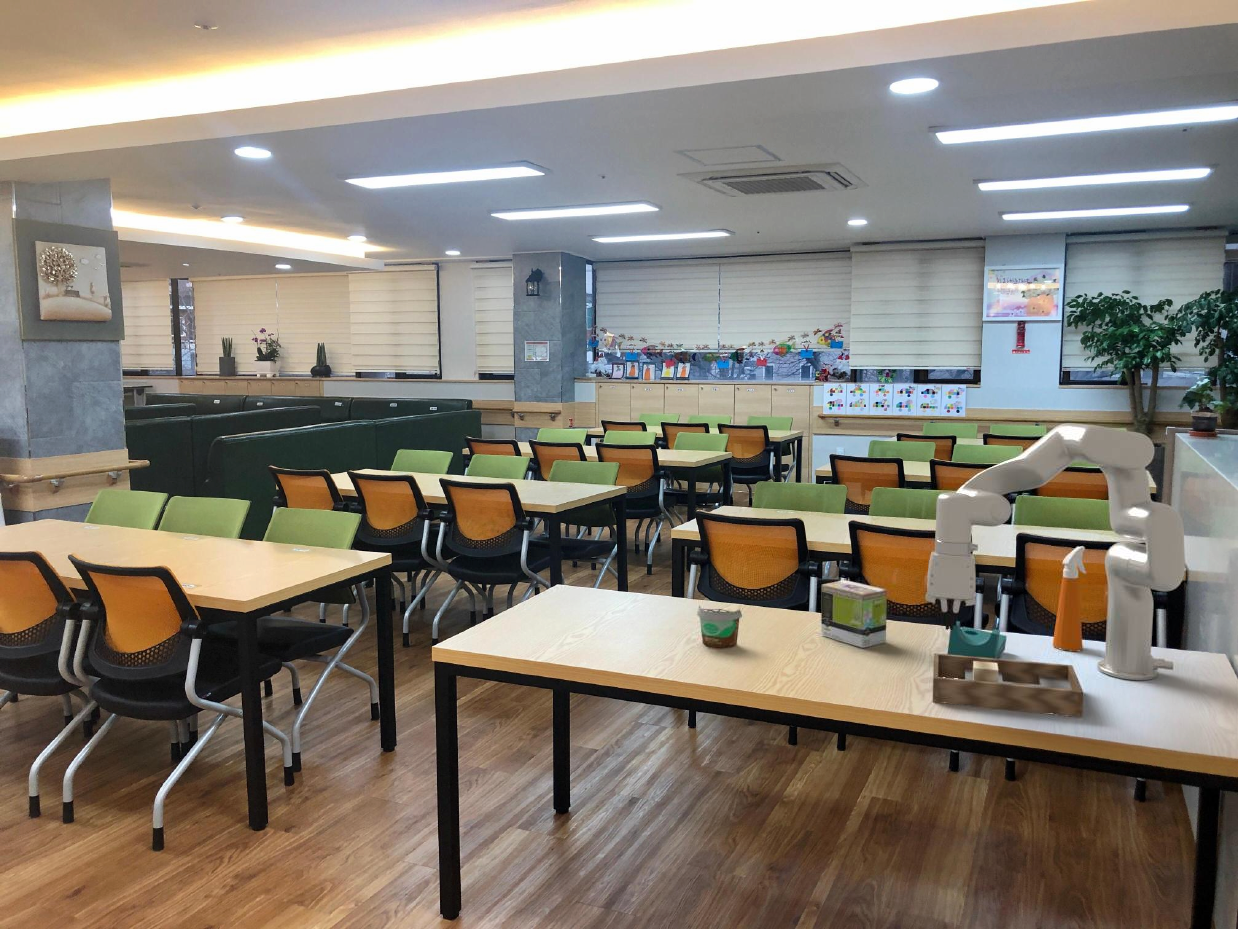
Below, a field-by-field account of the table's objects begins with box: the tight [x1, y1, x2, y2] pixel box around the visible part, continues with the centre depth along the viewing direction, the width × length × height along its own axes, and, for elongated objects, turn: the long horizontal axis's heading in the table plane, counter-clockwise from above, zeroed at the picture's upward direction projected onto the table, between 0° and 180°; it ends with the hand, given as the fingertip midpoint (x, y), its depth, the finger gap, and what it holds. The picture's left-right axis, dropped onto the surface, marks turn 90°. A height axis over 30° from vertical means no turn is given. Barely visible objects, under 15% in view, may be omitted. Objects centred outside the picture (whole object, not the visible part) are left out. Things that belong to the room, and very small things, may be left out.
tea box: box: [820, 579, 888, 649], centre depth 249 cm, size 15×10×15 cm, turn 34°
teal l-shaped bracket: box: [946, 620, 1007, 659], centre depth 231 cm, size 18×11×10 cm, turn 149°
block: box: [973, 661, 998, 683], centre depth 205 cm, size 5×5×5 cm
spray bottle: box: [1052, 545, 1087, 652], centre depth 239 cm, size 7×11×26 cm, turn 125°
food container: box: [696, 605, 743, 650], centre depth 245 cm, size 12×6×10 cm, turn 68°
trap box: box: [932, 652, 1084, 718], centre depth 207 cm, size 30×18×6 cm, turn 71°
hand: (949, 628), depth 206 cm, fingers closed
